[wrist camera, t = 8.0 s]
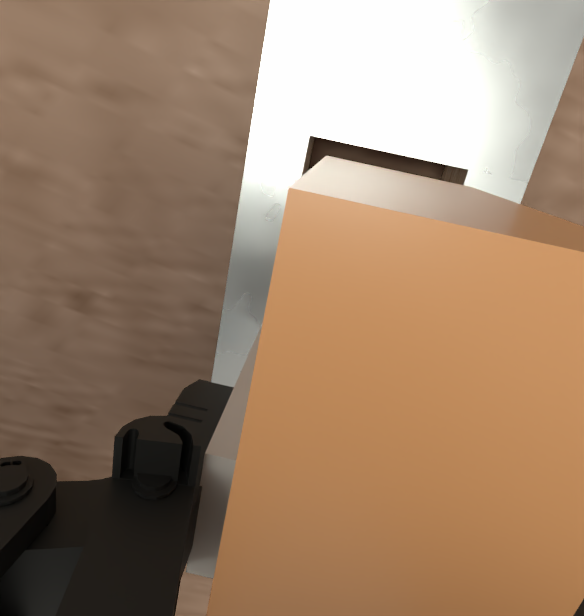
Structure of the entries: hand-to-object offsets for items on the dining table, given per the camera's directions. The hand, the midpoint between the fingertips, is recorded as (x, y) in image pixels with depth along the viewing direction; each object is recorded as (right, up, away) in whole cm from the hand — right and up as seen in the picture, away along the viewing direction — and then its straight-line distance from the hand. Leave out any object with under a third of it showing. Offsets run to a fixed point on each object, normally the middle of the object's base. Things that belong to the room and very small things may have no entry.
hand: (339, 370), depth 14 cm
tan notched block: (0, +1, +2) cm, 2 cm away
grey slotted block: (0, +2, +4) cm, 4 cm away
